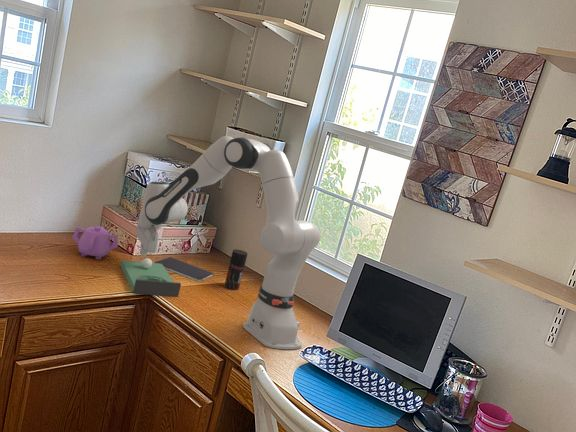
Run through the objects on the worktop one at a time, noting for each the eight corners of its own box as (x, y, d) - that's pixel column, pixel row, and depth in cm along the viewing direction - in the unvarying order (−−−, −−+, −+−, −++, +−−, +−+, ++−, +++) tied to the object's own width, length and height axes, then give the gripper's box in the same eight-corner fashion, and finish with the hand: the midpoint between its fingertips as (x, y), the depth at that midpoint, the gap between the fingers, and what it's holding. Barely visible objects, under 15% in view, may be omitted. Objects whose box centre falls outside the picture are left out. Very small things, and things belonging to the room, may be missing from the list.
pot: (75, 244, 242) (80, 216, 239) (118, 253, 244) (124, 226, 242) (64, 256, 224) (69, 227, 222) (110, 266, 227) (116, 237, 225)
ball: (152, 270, 226) (154, 260, 225) (141, 269, 224) (143, 259, 223) (149, 266, 230) (151, 257, 229) (139, 265, 228) (141, 256, 227)
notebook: (213, 276, 247) (169, 260, 253) (213, 273, 246) (170, 256, 253) (198, 283, 235) (152, 265, 241) (199, 279, 234) (153, 262, 241)
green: (178, 296, 214) (181, 283, 213) (133, 293, 206) (136, 280, 205) (160, 269, 237) (163, 257, 236) (120, 265, 230) (122, 253, 229)
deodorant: (236, 291, 235) (245, 255, 232) (222, 287, 236) (231, 251, 233) (240, 287, 240) (249, 252, 238) (226, 283, 241) (235, 248, 238)
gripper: (164, 231, 222) (156, 265, 225) (152, 215, 240) (145, 247, 243) (148, 229, 219) (140, 264, 222) (137, 213, 237) (130, 245, 240)
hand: (143, 255), depth 233 cm, fingers closed
